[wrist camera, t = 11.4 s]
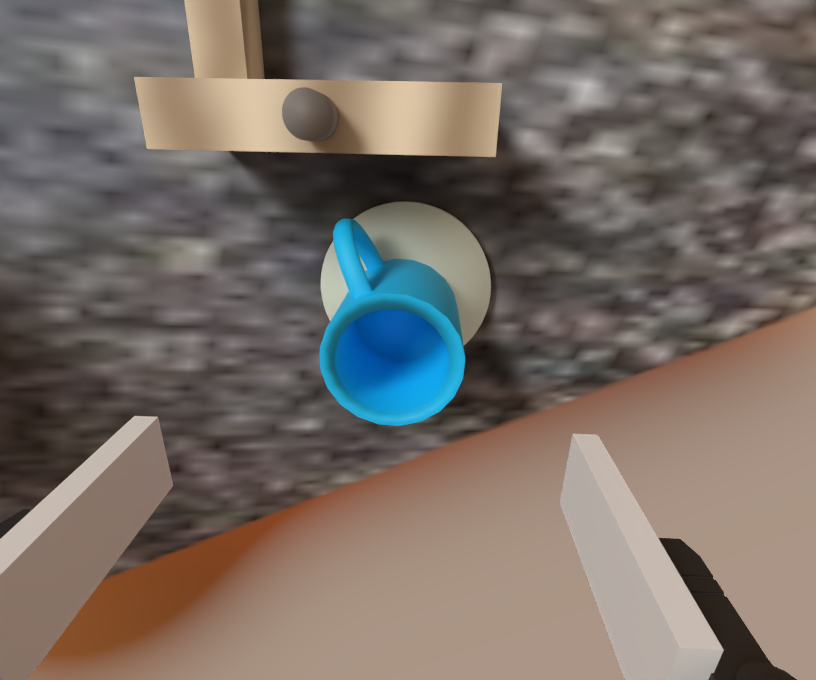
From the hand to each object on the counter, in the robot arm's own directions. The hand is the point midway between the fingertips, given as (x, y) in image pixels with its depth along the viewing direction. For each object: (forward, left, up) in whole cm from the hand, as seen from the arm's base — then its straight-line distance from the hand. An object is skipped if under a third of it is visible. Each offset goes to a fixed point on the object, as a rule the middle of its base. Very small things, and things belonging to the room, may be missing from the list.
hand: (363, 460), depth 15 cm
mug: (-1, 0, -19) cm, 19 cm away
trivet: (0, 0, -20) cm, 20 cm away
